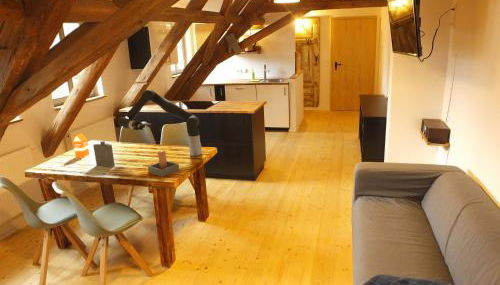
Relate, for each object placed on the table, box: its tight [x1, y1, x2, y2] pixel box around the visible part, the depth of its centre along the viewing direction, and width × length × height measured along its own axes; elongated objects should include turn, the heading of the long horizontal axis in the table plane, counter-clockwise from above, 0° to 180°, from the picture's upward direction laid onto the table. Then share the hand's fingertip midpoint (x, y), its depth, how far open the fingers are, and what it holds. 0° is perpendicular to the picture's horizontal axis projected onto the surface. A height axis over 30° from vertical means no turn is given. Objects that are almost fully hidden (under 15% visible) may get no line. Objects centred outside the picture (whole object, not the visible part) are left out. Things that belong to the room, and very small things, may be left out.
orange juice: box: [72, 132, 90, 158], centre depth 319 cm, size 8×9×20 cm
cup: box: [157, 150, 168, 170], centre depth 274 cm, size 6×6×15 cm
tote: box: [147, 160, 180, 178], centre depth 275 cm, size 16×16×5 cm
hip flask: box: [92, 140, 115, 168], centre depth 292 cm, size 16×4×20 cm, turn 76°
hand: (147, 127), depth 286 cm, fingers open, 8 cm apart
